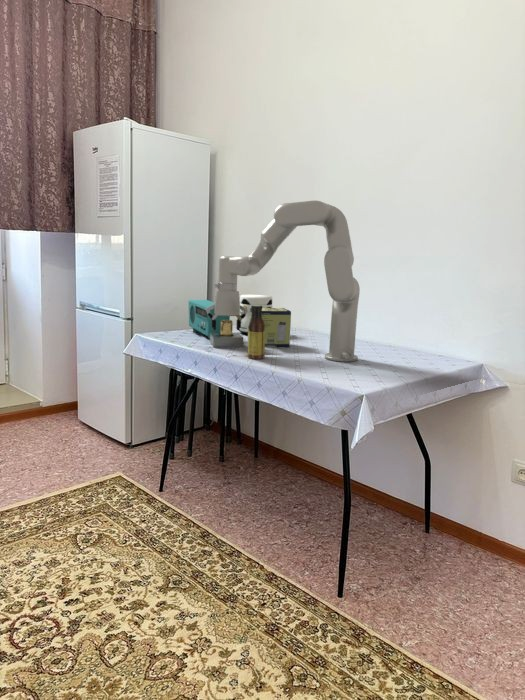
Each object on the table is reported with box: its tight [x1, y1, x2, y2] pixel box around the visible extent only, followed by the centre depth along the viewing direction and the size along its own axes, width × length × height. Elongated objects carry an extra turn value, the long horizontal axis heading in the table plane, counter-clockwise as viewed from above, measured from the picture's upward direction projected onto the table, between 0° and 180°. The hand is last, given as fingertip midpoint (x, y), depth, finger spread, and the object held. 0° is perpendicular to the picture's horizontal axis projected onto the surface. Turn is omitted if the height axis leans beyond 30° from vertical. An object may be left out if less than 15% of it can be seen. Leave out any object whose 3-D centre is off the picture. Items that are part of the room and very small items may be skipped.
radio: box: [188, 299, 231, 340], centre depth 243 cm, size 34×10×15 cm, turn 23°
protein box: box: [250, 307, 292, 348], centre depth 225 cm, size 10×16×16 cm
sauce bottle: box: [247, 305, 266, 360], centre depth 198 cm, size 6×6×20 cm
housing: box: [209, 332, 244, 349], centre depth 219 cm, size 12×12×5 cm
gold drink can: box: [221, 319, 234, 336], centre depth 218 cm, size 5×5×10 cm
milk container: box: [238, 294, 273, 335], centre depth 255 cm, size 17×17×18 cm
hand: (226, 329), depth 218 cm, fingers open, 9 cm apart
